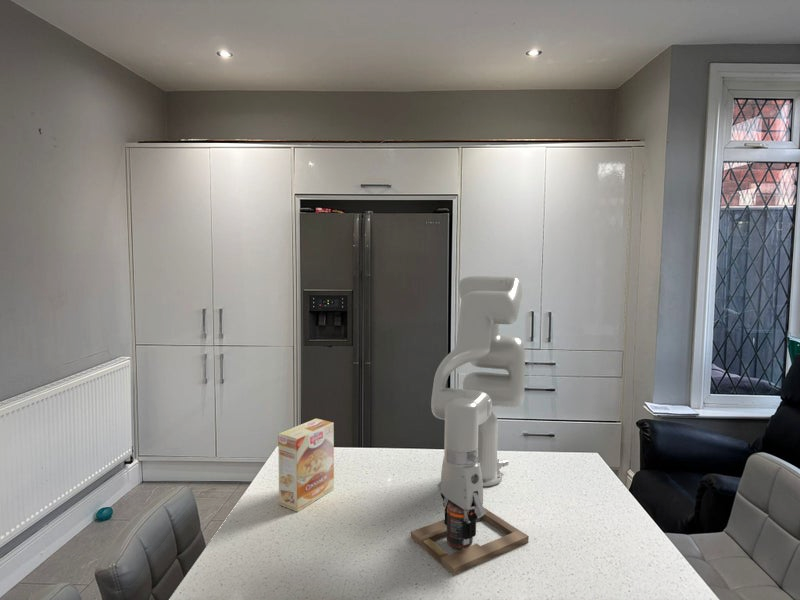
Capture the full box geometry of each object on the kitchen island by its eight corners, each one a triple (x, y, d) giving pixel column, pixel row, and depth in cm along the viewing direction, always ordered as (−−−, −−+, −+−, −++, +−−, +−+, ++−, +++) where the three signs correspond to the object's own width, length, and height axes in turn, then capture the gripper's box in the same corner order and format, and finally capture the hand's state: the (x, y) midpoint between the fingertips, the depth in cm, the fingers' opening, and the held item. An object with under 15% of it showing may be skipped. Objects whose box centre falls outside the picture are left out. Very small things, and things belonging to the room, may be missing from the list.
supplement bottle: (474, 550, 110) (475, 501, 109) (447, 550, 110) (448, 501, 109) (470, 534, 116) (471, 488, 115) (445, 534, 116) (446, 488, 115)
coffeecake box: (297, 512, 126) (296, 439, 124) (277, 505, 130) (276, 433, 128) (335, 489, 139) (334, 421, 137) (316, 482, 143) (315, 417, 141)
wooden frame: (481, 511, 127) (481, 504, 127) (528, 542, 114) (528, 534, 114) (410, 537, 115) (410, 530, 115) (453, 575, 102) (453, 567, 102)
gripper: (500, 464, 106) (498, 543, 108) (450, 438, 120) (449, 509, 122) (473, 472, 102) (472, 555, 104) (425, 444, 116) (424, 517, 118)
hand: (459, 529), depth 113 cm, fingers closed on supplement bottle, 6 cm apart
